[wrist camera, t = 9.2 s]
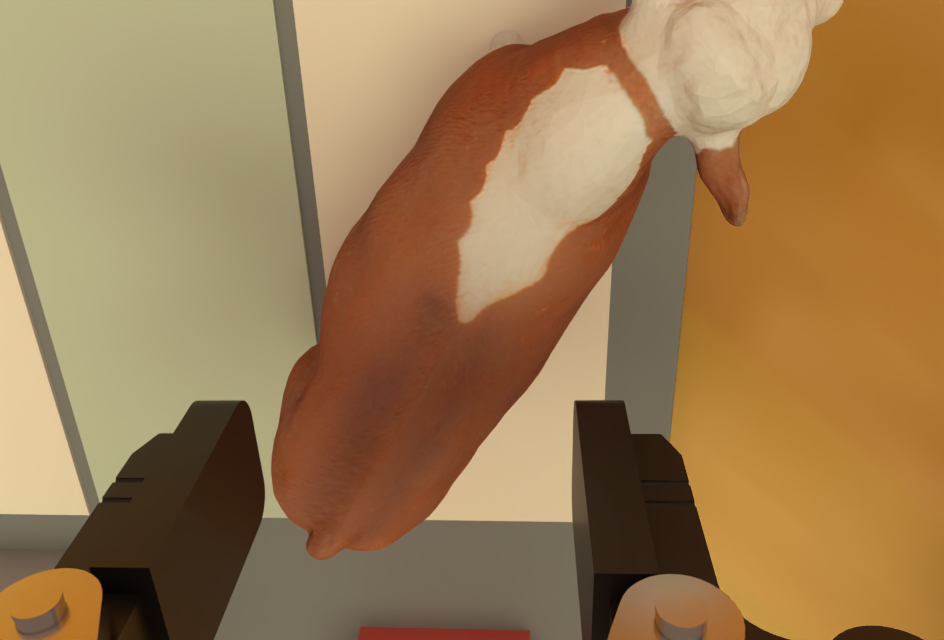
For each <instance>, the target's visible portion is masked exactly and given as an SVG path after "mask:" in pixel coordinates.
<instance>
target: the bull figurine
mask: <svg viewBox="0 0 944 640" xmlns="http://www.w3.org/2000/svg"><path fill="white" fill-rule="evenodd" d="M843 1H844V0H632V3H631V6H630V7H628V8H625V9H622V10H618V11H615V12H610V13H604V14H600V15H598V16H595V17H593V18H591V19H590V20H588V21H586V22H584V23H581V24H578V25H575V26H573V27H571V28H568V29H566V30H564V31H562V32H559V33H557V34H555V35H552V36H550V37H547V38H545V39H542V40H539V41H537V42H536V43H534V44H532V45H526V44H524V42H523V40H522V38H521V37H520V35H519V34H518V33H516V32H514V31H510V30H504V31H501V32H499V33H497V34H496V35H495V36H494V37H493V39H492V41H491V44H490V48H489V51H488V52H486V53H485V54H484V55H483V56H482V57H481V58H480V59H479V60H477V61H476V62H475V63H474V64H473V65H471V66H470V67H469V68H468V69H467V70H466V71H465V72H464V73H463V74H462V75H461V76H460V77H459V78H458V79H457V80H456V81H455V82H454V83H453V84H452V85H451V86H450V87H449V88H448V89H447V91H446V92H445V93H444V95H443V96H442V97H441V99H440V100H439V101H438V103H437V105H436V106H435V108H434V110H433V112H432V114H431V115H430V117H429V119H428V121H427V123H426V124H425V126H424V128H423V130H422V132H421V134H420V136H419V138H418V140H417V142H416V144H415V145H414V147H413V148H412V149H411V151H410V152H409V153H408V154H407V156H406V157H405V158H404V159H403V160H402V162H401V163H400V164H399V165H398V166H397V168H396V169H395V170H394V171H393V173H392V174H391V175H390V176H389V178H388V179H387V180H386V182H385V183H384V184H383V185H382V187H381V188H380V189H379V190H378V192H377V193H376V195H375V197H374V198H373V200H372V202H371V204H370V205H369V207H368V209H367V210H366V211H365V213H364V214H363V215H362V216H361V218H360V219H359V220H358V221H357V223H356V224H355V225H354V226H353V227H352V229H351V230H350V232H349V234H348V235H347V237H346V239H345V240H344V242H343V244H342V246H341V248H340V249H339V251H338V253H337V256H336V258H335V260H334V263H333V266H332V268H331V271H330V275H329V279H328V283H327V288H326V292H325V296H324V301H323V307H322V313H321V324H320V340H319V343H318V344H317V345H315V346H313V347H311V348H310V349H309V350H307V351H306V352H305V353H304V354H303V355H302V356H301V357H300V358H299V359H298V360H297V362H296V363H295V364H294V366H293V368H292V370H291V372H290V374H289V376H288V380H287V383H286V386H285V390H284V393H283V399H282V405H281V411H280V417H279V424H278V428H277V432H276V435H275V438H274V444H273V450H272V459H271V477H272V485H273V493H274V495H275V498H276V500H277V502H278V504H279V505H280V507H281V509H282V510H283V512H284V513H285V515H286V516H287V517H288V518H289V519H290V520H291V521H292V522H293V523H294V524H296V525H297V526H299V527H301V528H302V529H304V530H306V531H307V532H308V534H309V537H308V539H307V542H306V550H307V552H308V554H309V555H310V556H312V557H313V558H314V559H317V560H326V559H329V558H331V557H333V556H335V555H336V554H338V553H339V552H340V551H341V550H343V549H344V548H346V549H351V550H357V551H374V550H380V549H382V548H385V547H387V546H389V545H391V544H392V543H394V542H396V541H397V540H398V539H400V538H401V537H402V536H403V535H405V534H406V533H407V532H409V531H410V530H412V529H413V528H415V527H416V526H418V525H419V524H421V523H422V522H423V521H424V520H425V519H426V518H428V517H429V516H430V515H431V514H432V512H433V511H434V510H435V509H436V508H437V507H438V505H439V504H440V503H441V501H442V500H443V499H444V498H445V496H446V494H447V493H448V491H449V489H450V488H451V486H452V485H453V483H454V482H455V480H456V479H457V478H458V477H459V475H460V474H461V473H462V472H463V470H464V469H465V468H466V466H467V465H468V464H469V462H470V461H471V459H472V458H473V456H474V454H475V453H476V451H477V449H478V448H479V446H480V445H481V444H482V443H483V442H484V440H485V439H486V438H487V437H488V435H489V434H490V433H491V432H492V431H493V429H494V428H495V427H496V426H497V424H498V423H499V422H500V420H501V419H502V418H503V416H504V415H505V414H506V413H507V412H508V410H509V409H510V408H511V407H512V406H513V405H514V404H515V403H516V402H517V401H518V399H519V398H520V397H521V396H522V395H523V394H524V393H525V392H526V391H527V389H528V388H529V387H530V385H531V384H532V383H533V381H534V380H535V379H536V377H537V376H538V375H539V373H540V372H541V370H542V368H543V367H544V365H545V363H546V362H547V360H548V358H549V356H550V354H551V353H552V351H553V350H554V348H555V346H556V345H557V343H558V342H559V340H560V338H561V337H562V335H563V334H564V332H565V330H566V329H567V327H568V325H569V324H570V322H571V321H572V319H573V318H574V316H575V315H576V313H577V312H578V310H579V309H580V307H581V305H582V304H583V302H584V301H585V299H586V298H587V296H588V295H589V293H590V292H591V291H592V289H593V288H594V287H595V285H596V284H597V283H598V282H599V280H600V279H601V278H602V276H603V275H604V274H605V272H606V271H607V270H608V268H609V267H610V265H611V264H612V262H613V260H614V259H615V257H616V255H617V253H618V251H619V248H620V246H621V244H622V242H623V239H624V237H625V235H626V233H627V231H628V228H629V226H630V224H631V221H632V219H633V217H634V214H635V212H636V210H637V207H638V205H639V203H640V200H641V197H642V195H643V192H644V190H645V187H646V185H647V182H648V178H649V174H650V169H651V161H652V159H653V158H654V156H655V155H656V154H657V152H658V151H659V150H660V148H661V147H662V146H663V145H664V144H665V143H666V142H667V141H668V140H669V139H671V138H673V137H675V136H680V137H684V138H686V139H688V140H689V141H690V142H691V144H692V146H693V150H694V153H695V157H696V164H697V168H698V171H699V175H700V178H701V179H702V181H703V182H704V184H705V185H706V186H707V188H708V189H709V191H710V192H711V193H712V195H713V196H714V198H715V199H716V200H717V202H718V204H719V206H720V209H721V211H722V213H723V215H724V217H725V218H726V220H727V221H728V222H729V223H730V224H732V225H734V226H741V225H742V224H743V223H744V222H745V219H746V215H747V208H748V199H749V187H748V183H747V180H746V177H745V174H744V171H743V169H742V166H741V162H740V158H739V136H740V133H741V130H742V129H743V128H745V127H747V126H750V125H752V124H754V123H755V122H756V121H758V120H759V119H760V118H762V117H764V116H767V115H769V114H771V113H773V112H774V111H776V110H778V109H779V108H781V107H782V106H783V105H784V104H786V103H787V102H788V101H789V100H790V99H791V97H792V96H793V95H794V93H795V92H796V90H797V89H798V87H799V86H800V84H801V82H802V80H803V78H804V75H805V73H806V70H807V68H808V64H809V61H810V57H811V49H812V30H813V28H814V26H817V25H820V24H822V23H825V22H826V21H827V20H829V19H830V18H831V17H833V16H834V15H835V14H836V13H837V12H838V10H839V9H840V8H841V6H842V3H843Z"/></svg>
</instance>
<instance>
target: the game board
mask: <svg viewBox="0 0 944 640" xmlns="http://www.w3.org/2000/svg"><path fill="white" fill-rule="evenodd" d="M631 3H632V0H0V592H2V591H3V590H4V589H6V588H7V587H9V586H11V585H12V584H14V583H16V582H18V581H20V580H22V579H24V578H26V577H28V576H31V575H34V574H36V573H40V572H43V571H47V570H52V569H54V568H55V566H56V565H57V563H58V562H59V561H60V559H61V558H62V556H63V555H64V553H65V552H66V550H67V549H68V547H69V546H70V544H71V543H72V541H73V540H74V538H75V537H76V535H77V534H78V532H79V531H80V530H81V528H82V527H83V525H84V524H85V522H86V521H87V519H88V518H89V516H90V515H91V513H92V512H93V510H94V509H95V507H96V506H97V504H98V503H102V497H103V496H104V494H105V493H106V491H107V490H108V488H109V487H110V485H111V484H112V483H115V481H116V476H117V475H118V473H119V472H120V470H121V469H122V468H123V466H124V465H125V463H126V462H127V460H128V459H129V457H130V456H131V454H132V453H134V452H135V451H136V450H138V449H139V448H140V447H142V446H143V445H144V444H146V443H147V442H148V441H149V440H151V439H152V438H153V437H155V436H156V435H157V434H159V433H174V431H175V429H176V428H177V426H178V425H179V423H180V421H181V420H182V418H183V417H184V415H185V413H186V412H187V410H188V409H189V407H190V406H191V404H192V403H193V402H194V401H197V400H244V401H246V402H247V403H248V405H249V407H250V410H251V414H252V418H253V424H254V429H255V434H256V440H257V445H258V451H259V456H260V461H261V467H262V472H263V477H264V484H265V505H264V512H263V517H262V521H261V524H260V526H259V529H258V531H257V534H256V536H255V539H254V541H253V544H252V546H251V549H250V551H249V554H248V556H247V559H246V561H245V564H244V566H243V569H242V571H241V574H240V576H239V579H238V581H237V584H236V586H235V588H234V591H233V593H232V596H231V598H230V601H229V603H228V606H227V608H226V611H225V613H224V616H223V618H222V621H221V623H220V626H219V628H218V631H217V633H216V636H215V638H214V640H582V632H581V620H580V608H579V596H578V583H577V571H576V559H575V547H574V535H573V521H572V450H573V410H574V401H575V400H624V403H625V407H626V412H627V417H628V422H629V426H630V431H631V434H662V435H663V436H664V438H665V439H666V440H667V441H668V442H670V432H671V422H672V412H673V402H674V391H675V381H676V371H677V361H678V351H679V341H680V331H681V321H682V311H683V300H684V290H685V280H686V270H687V260H688V250H689V240H690V230H691V220H692V209H693V199H694V189H695V179H696V169H697V164H696V157H695V153H694V150H693V146H692V144H691V142H690V141H689V140H688V139H686V138H684V137H680V136H675V137H673V138H671V139H669V140H668V141H667V142H666V143H665V144H664V145H663V146H662V147H661V148H660V150H659V151H658V152H657V154H656V155H655V156H654V158H653V159H652V161H651V169H650V174H649V178H648V182H647V185H646V187H645V190H644V192H643V195H642V197H641V200H640V203H639V205H638V207H637V210H636V212H635V214H634V217H633V219H632V221H631V224H630V226H629V228H628V231H627V233H626V235H625V237H624V239H623V242H622V244H621V246H620V248H619V251H618V253H617V255H616V257H615V259H614V260H613V262H612V264H611V265H610V267H609V268H608V270H607V271H606V272H605V274H604V275H603V276H602V278H601V279H600V280H599V282H598V283H597V284H596V285H595V287H594V288H593V289H592V291H591V292H590V293H589V295H588V296H587V298H586V299H585V301H584V302H583V304H582V305H581V307H580V309H579V310H578V312H577V313H576V315H575V316H574V318H573V319H572V321H571V322H570V324H569V325H568V327H567V329H566V330H565V332H564V334H563V335H562V337H561V338H560V340H559V342H558V343H557V345H556V346H555V348H554V350H553V351H552V353H551V354H550V356H549V358H548V360H547V362H546V363H545V365H544V367H543V368H542V370H541V372H540V373H539V375H538V376H537V377H536V379H535V380H534V381H533V383H532V384H531V385H530V387H529V388H528V389H527V391H526V392H525V393H524V394H523V395H522V396H521V397H520V398H519V399H518V401H517V402H516V403H515V404H514V405H513V406H512V407H511V408H510V409H509V410H508V412H507V413H506V414H505V415H504V416H503V418H502V419H501V420H500V422H499V423H498V424H497V426H496V427H495V428H494V429H493V431H492V432H491V433H490V434H489V435H488V437H487V438H486V439H485V440H484V442H483V443H482V444H481V445H480V446H479V448H478V449H477V451H476V453H475V454H474V456H473V458H472V459H471V461H470V462H469V464H468V465H467V466H466V468H465V469H464V470H463V472H462V473H461V474H460V475H459V477H458V478H457V479H456V480H455V482H454V483H453V485H452V486H451V488H450V489H449V491H448V493H447V494H446V496H445V498H444V499H443V500H442V501H441V503H440V504H439V505H438V507H437V508H436V509H435V510H434V511H433V512H432V514H431V515H430V516H429V517H428V518H426V519H425V520H424V521H423V522H422V523H421V524H419V525H418V526H416V527H415V528H413V529H412V530H410V531H409V532H407V533H406V534H405V535H403V536H402V537H401V538H400V539H398V540H397V541H396V542H394V543H392V544H391V545H389V546H387V547H385V548H382V549H380V550H374V551H357V550H351V549H346V548H344V549H343V550H341V551H340V552H339V553H338V554H336V555H335V556H333V557H331V558H329V559H326V560H317V559H314V558H313V557H312V556H310V555H309V554H308V552H307V550H306V542H307V539H308V537H309V534H308V532H307V531H306V530H304V529H302V528H301V527H299V526H297V525H296V524H294V523H293V522H292V521H291V520H290V519H289V518H288V517H287V516H286V515H285V513H284V512H283V510H282V509H281V507H280V505H279V504H278V502H277V500H276V498H275V495H274V493H273V485H272V477H271V459H272V450H273V444H274V438H275V435H276V432H277V428H278V424H279V417H280V411H281V405H282V399H283V393H284V390H285V386H286V383H287V380H288V376H289V374H290V372H291V370H292V368H293V366H294V364H295V363H296V362H297V360H298V359H299V358H300V357H301V356H302V355H303V354H304V353H305V352H306V351H307V350H309V349H310V348H311V347H313V346H315V345H317V344H318V343H319V340H320V324H321V313H322V307H323V301H324V296H325V292H326V288H327V283H328V279H329V275H330V271H331V268H332V266H333V263H334V260H335V258H336V256H337V253H338V251H339V249H340V248H341V246H342V244H343V242H344V240H345V239H346V237H347V235H348V234H349V232H350V230H351V229H352V227H353V226H354V225H355V224H356V223H357V221H358V220H359V219H360V218H361V216H362V215H363V214H364V213H365V211H366V210H367V209H368V207H369V205H370V204H371V202H372V200H373V198H374V197H375V195H376V193H377V192H378V190H379V189H380V188H381V187H382V185H383V184H384V183H385V182H386V180H387V179H388V178H389V176H390V175H391V174H392V173H393V171H394V170H395V169H396V168H397V166H398V165H399V164H400V163H401V162H402V160H403V159H404V158H405V157H406V156H407V154H408V153H409V152H410V151H411V149H412V148H413V147H414V145H415V144H416V142H417V140H418V138H419V136H420V134H421V132H422V130H423V128H424V126H425V124H426V123H427V121H428V119H429V117H430V115H431V114H432V112H433V110H434V108H435V106H436V105H437V103H438V101H439V100H440V99H441V97H442V96H443V95H444V93H445V92H446V91H447V89H448V88H449V87H450V86H451V85H452V84H453V83H454V82H455V81H456V80H457V79H458V78H459V77H460V76H461V75H462V74H463V73H464V72H465V71H466V70H467V69H468V68H469V67H470V66H471V65H473V64H474V63H475V62H476V61H477V60H479V59H480V58H481V57H482V56H483V55H484V54H485V53H486V52H488V51H489V48H490V44H491V41H492V39H493V37H494V36H495V35H496V34H497V33H499V32H501V31H504V30H510V31H514V32H516V33H518V34H519V35H520V37H521V38H522V40H523V42H524V44H526V45H532V44H534V43H536V42H537V41H539V40H542V39H545V38H547V37H550V36H552V35H555V34H557V33H559V32H562V31H564V30H566V29H568V28H571V27H573V26H575V25H578V24H581V23H584V22H586V21H588V20H590V19H591V18H593V17H595V16H598V15H600V14H604V13H610V12H615V11H618V10H622V9H625V8H628V7H630V6H631Z"/></svg>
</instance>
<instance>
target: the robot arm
mask: <svg viewBox="0 0 944 640" xmlns="http://www.w3.org/2000/svg"><path fill="white" fill-rule="evenodd" d="M264 505H265V484H264V477H263V472H262V467H261V461H260V456H259V451H258V445H257V440H256V434H255V429H254V424H253V418H252V414H251V410H250V407H249V405H248V403H247V402H246V401H244V400H197V401H194V402H193V403H192V404H191V406H190V407H189V409H188V410H187V412H186V413H185V415H184V417H183V418H182V420H181V421H180V423H179V425H178V426H177V428H176V429H175V431H174V433H159V434H157V435H156V436H155V437H153V438H152V439H151V440H149V441H148V442H147V443H146V444H144V445H143V446H142V447H140V448H139V449H138V450H136V451H135V452H134V453H132V454H131V456H130V457H129V459H128V460H127V462H126V463H125V465H124V466H123V468H122V469H121V470H120V472H119V473H118V475H117V476H116V481H115V483H112V484H111V485H110V487H109V488H108V490H107V491H106V493H105V494H104V496H103V497H102V503H98V504H97V506H96V507H95V509H94V510H93V512H92V513H91V515H90V516H89V518H88V519H87V521H86V522H85V524H84V525H83V527H82V528H81V530H80V531H79V532H78V534H77V535H76V537H75V538H74V540H73V541H72V543H71V544H70V546H69V547H68V549H67V550H66V552H65V553H64V555H63V556H62V558H61V559H60V561H59V562H58V563H57V565H56V566H55V568H54V569H52V570H47V571H43V572H40V573H36V574H34V575H31V576H28V577H26V578H24V579H22V580H20V581H18V582H16V583H14V584H12V585H11V586H9V587H7V588H6V589H4V590H3V591H2V592H0V640H214V638H215V636H216V633H217V631H218V628H219V626H220V623H221V621H222V618H223V616H224V613H225V611H226V608H227V606H228V603H229V601H230V598H231V596H232V593H233V591H234V588H235V586H236V584H237V581H238V579H239V576H240V574H241V571H242V569H243V566H244V564H245V561H246V559H247V556H248V554H249V551H250V549H251V546H252V544H253V541H254V539H255V536H256V534H257V531H258V529H259V526H260V524H261V521H262V517H263V512H264ZM572 521H573V535H574V547H575V559H576V571H577V583H578V596H579V608H580V620H581V632H582V640H789V639H785V638H782V637H779V636H776V635H773V634H771V633H769V632H766V631H764V630H762V629H760V628H758V627H757V626H755V625H753V624H751V623H750V622H748V621H747V620H746V619H744V618H743V617H742V614H741V612H740V610H739V609H738V607H737V606H736V604H735V603H734V602H733V601H732V600H731V599H730V597H729V596H727V595H726V594H725V593H724V592H723V591H721V590H720V588H719V586H718V583H717V579H716V576H715V572H714V569H713V565H712V562H711V558H710V555H709V551H708V548H707V544H706V540H705V537H704V533H703V530H702V526H701V523H700V519H699V516H698V512H697V508H696V506H695V505H694V498H693V494H692V491H691V487H690V485H689V480H688V476H687V473H686V469H685V466H684V462H683V459H682V455H681V454H680V453H679V452H678V451H677V450H676V449H675V448H674V447H673V446H672V445H671V444H670V443H669V442H668V441H667V440H666V439H665V438H664V436H663V435H662V434H631V431H630V426H629V422H628V417H627V412H626V407H625V403H624V400H575V401H574V410H573V450H572ZM833 640H923V639H921V638H919V637H917V636H915V635H912V634H910V633H907V632H904V631H901V630H897V629H894V628H889V627H883V626H861V627H855V628H852V629H848V630H846V631H844V632H842V633H840V634H839V635H838V636H836V637H835V638H834V639H833Z"/></svg>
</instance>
